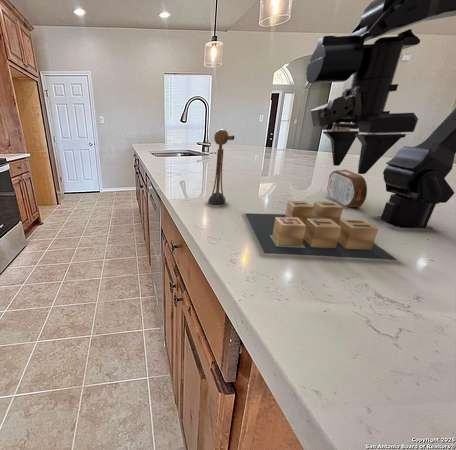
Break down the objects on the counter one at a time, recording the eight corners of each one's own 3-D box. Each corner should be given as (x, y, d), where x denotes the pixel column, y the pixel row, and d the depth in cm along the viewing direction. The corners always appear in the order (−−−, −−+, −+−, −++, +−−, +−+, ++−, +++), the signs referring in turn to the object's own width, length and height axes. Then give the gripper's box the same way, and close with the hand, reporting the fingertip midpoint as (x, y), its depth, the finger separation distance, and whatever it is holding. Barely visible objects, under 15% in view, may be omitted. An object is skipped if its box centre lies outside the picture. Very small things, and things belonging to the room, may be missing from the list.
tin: (362, 212, 60) (373, 178, 56) (348, 211, 60) (357, 178, 57) (334, 195, 73) (341, 167, 70) (322, 195, 74) (329, 167, 70)
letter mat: (334, 217, 57) (334, 215, 57) (396, 263, 39) (397, 259, 39) (245, 215, 60) (245, 212, 60) (264, 256, 42) (264, 252, 42)
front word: (357, 239, 45) (364, 219, 44) (371, 250, 42) (379, 228, 40) (302, 237, 47) (306, 217, 45) (311, 247, 43) (316, 226, 42)
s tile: (294, 236, 47) (298, 217, 46) (301, 246, 43) (306, 225, 42) (272, 235, 48) (275, 216, 46) (278, 245, 44) (281, 224, 43)
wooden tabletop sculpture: (231, 205, 68) (239, 128, 60) (221, 209, 65) (227, 129, 57) (214, 201, 72) (219, 128, 64) (204, 204, 69) (208, 129, 62)
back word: (329, 218, 55) (333, 201, 54) (338, 225, 52) (343, 206, 50) (284, 217, 57) (287, 200, 55) (290, 223, 53) (293, 205, 52)
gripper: (302, 89, 53) (289, 162, 59) (350, 74, 36) (325, 179, 42) (360, 86, 51) (340, 162, 57) (439, 68, 34) (399, 179, 40)
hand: (347, 169), depth 49 cm, fingers open, 9 cm apart
